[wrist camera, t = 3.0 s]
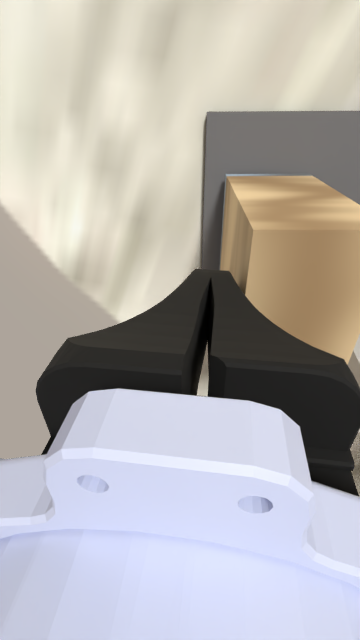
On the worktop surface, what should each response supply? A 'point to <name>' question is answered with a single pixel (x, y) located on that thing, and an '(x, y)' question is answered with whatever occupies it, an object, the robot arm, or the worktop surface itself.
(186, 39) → the worktop surface
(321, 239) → the oak block
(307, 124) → the grey flat rectangular piece
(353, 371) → the grey block
